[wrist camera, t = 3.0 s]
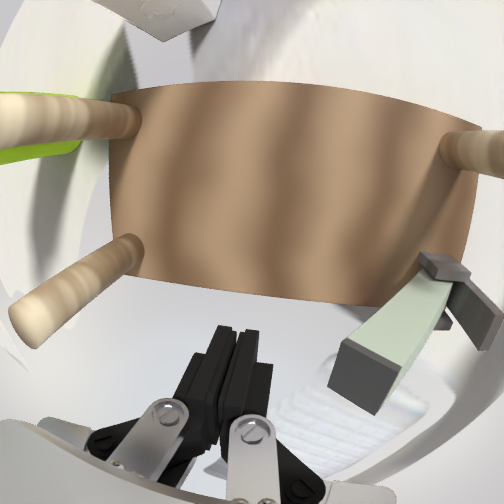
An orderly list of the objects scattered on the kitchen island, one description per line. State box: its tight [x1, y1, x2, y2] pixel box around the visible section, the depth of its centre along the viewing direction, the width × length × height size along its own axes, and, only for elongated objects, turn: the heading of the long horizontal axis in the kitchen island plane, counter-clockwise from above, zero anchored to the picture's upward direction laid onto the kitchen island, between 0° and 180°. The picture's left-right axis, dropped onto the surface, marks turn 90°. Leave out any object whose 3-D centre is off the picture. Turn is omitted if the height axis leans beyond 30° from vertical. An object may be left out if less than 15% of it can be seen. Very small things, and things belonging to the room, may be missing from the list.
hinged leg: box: [327, 267, 454, 416], centre depth 13 cm, size 12×3×3 cm
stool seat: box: [0, 81, 504, 351], centre depth 13 cm, size 28×15×14 cm, turn 87°
